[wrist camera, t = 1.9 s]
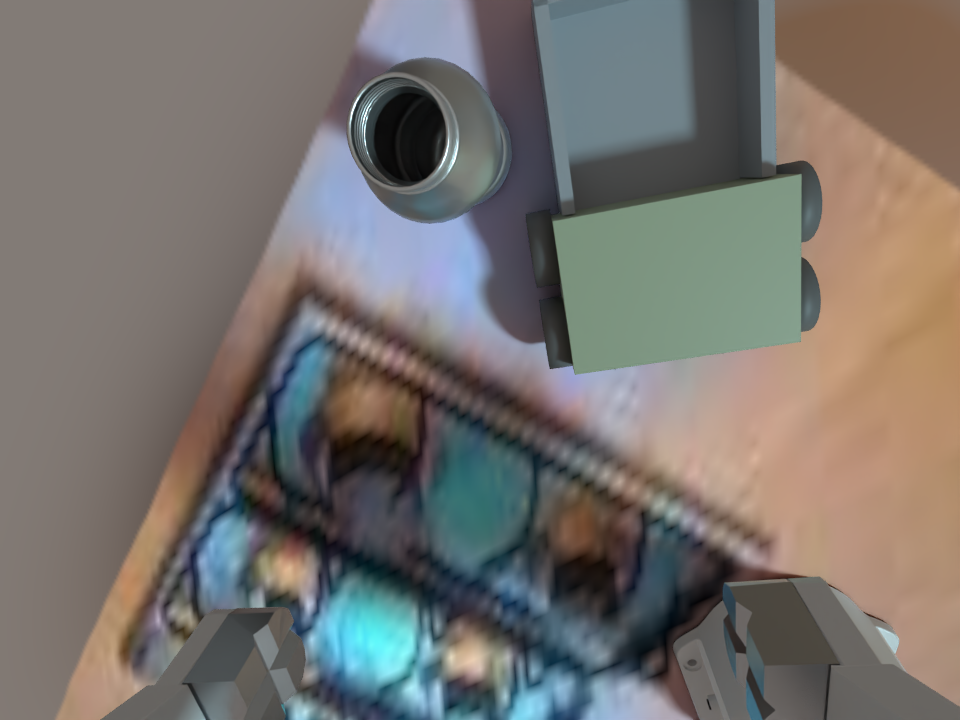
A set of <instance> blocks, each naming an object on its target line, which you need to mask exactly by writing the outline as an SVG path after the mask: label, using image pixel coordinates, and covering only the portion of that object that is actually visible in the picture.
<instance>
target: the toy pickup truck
mask: <svg viewBox="0 0 960 720" xmlns="http://www.w3.org/2000/svg"><path fill="white" fill-rule="evenodd" d="M531 15H532V22H533V29H534V36H535V44H536V51H537V58H538V65H539V72H540V79H541V86H542V94H543V101H544V108H545V115H546V122H547V129H548V137H549V144H550V151H551V158H552V165H553V172H554V179H555V187H556V194H557V201H558V208H559V214H554V215H551V214H550V209H549V210H543V211H538V212H533V213H528V214H526V223H527V230H528V237H529V243H530V250H531V256H532V262H533V268H534V274H535V280H536V285H537V288H539V287H545V286H550V285H556V284H560V289H561V296H560V297H554V298H549V299H543V300H539V302H540V310H541V317H542V324H543V331H544V337H545V343H546V350H547V356H548V361H549V367H550V369H554V368H560V367H567V366H573V369H574V373H575V375H576V374H583V373H590V372H596V371H603V370H610V369H617V368H624V367H631V366H638V365H644V364H651V363H658V362H665V361H672V360H679V359H686V358H693V357H699V356H706V355H713V354H720V353H727V352H734V351H741V350H748V349H754V348H761V347H768V346H775V345H782V344H789V343H796V342H801V332H803V331H809V330H811V329H812V328H813V327H814V326H815V324H816V323H817V320H818V317H819V313H820V304H821V299H820V289H819V284H818V280H817V277H816V274H815V272H814V270H813V268H812V266H811V265H810V264H809V262H808V261H807V260H806V259H804V258H802V257H801V242H806V241H809V240H810V239H811V238H812V237H813V236H814V234H815V233H816V231H817V229H818V226H819V223H820V219H821V213H822V192H821V186H820V182H819V179H818V176H817V174H816V172H815V170H814V168H813V167H812V166H811V165H810V164H809V163H808V162H806V161H796V162H791V163H786V164H781V165H776V91H775V0H532V8H531Z"/></svg>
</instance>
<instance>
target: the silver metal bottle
mask: <svg viewBox="0 0 960 720" xmlns="http://www.w3.org/2000/svg"><path fill="white" fill-rule="evenodd" d="M347 139H348V145H349V148H350V151H351V154H352V157H353V159H354V160H355V162H356V164H357V166H358V167H359V169H360V170H361V172H362V174H363V176H364V178H365V180H366V182H367V184H368V185H369V187H370V189H371V190H372V192H373V193H374V194H375V195H376V197H377V198H378V199H379V200H380V201H381V202H382V203H383V204H384V205H385V206H386V207H387V208H389V209H390V210H391V211H393V212H394V213H396V214H398V215H399V216H401V217H403V218H406V219H409V220H412V221H415V222H420V223H429V224H431V223H442V222H446V221H449V220H452V219H455V218H457V217H459V216H461V215H463V214H464V213H466V212H468V211H469V210H470V209H471V208H473V207H474V206H475V205H477V204H480V203H482V202H484V201H486V200H487V199H489V198H490V197H491V196H493V195H494V194H495V193H496V192H497V191H498V190H499V188H500V187H501V186H502V184H503V183H504V181H505V179H506V177H507V175H508V172H509V168H510V165H511V158H512V145H511V139H510V135H509V131H508V129H507V126H506V124H505V122H504V120H503V119H502V117H501V116H500V115H499V113H498V112H497V111H496V110H495V109H494V107H493V105H492V102H491V100H490V98H489V96H488V95H487V93H486V92H485V90H484V89H483V88H482V86H481V85H480V83H479V82H478V81H477V80H476V79H475V78H473V77H472V76H471V75H470V74H469V73H468V72H467V71H465V70H464V69H462V68H460V67H459V66H457V65H455V64H453V63H451V62H448V61H445V60H442V59H436V58H427V57H424V58H416V59H410V60H407V61H405V62H402V63H399V64H397V65H395V66H394V67H392V68H391V69H389V70H388V71H386V72H385V73H383V74H381V75H379V76H376V77H374V78H373V79H371V80H370V81H368V82H367V83H366V84H365V85H364V86H363V87H362V88H361V89H360V90H359V91H358V93H357V94H356V96H355V98H354V99H353V101H352V104H351V107H350V109H349V113H348V119H347Z"/></svg>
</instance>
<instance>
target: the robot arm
mask: <svg viewBox="0 0 960 720" xmlns="http://www.w3.org/2000/svg"><path fill="white" fill-rule="evenodd" d="M293 622H294V620H293V618H292V616H291V614H290V612H289V609H288V608H282V607H272V608H237V609H214V610H213V611H211V612H210V613H208V614H206V615H205V617H204V618H203V619H202V621H201V622H200V624H199V625H198V626H197V628H196V629H195V630H194V632H193V633H192V635H191V636H190V637H189V639H188V640H187V641H186V643H185V644H184V646H183V647H182V648H181V650H180V651H179V652H178V654H177V655H176V657H175V658H174V659H173V661H172V662H171V663H170V665H169V666H168V668H167V669H166V670H165V672H164V673H163V674H162V676H161V677H160V679H159V680H158V681H157V683H156V684H155V685H151V686H146V687H145V688H143V689H142V690H141V691H139V692H138V693H137V694H135V695H134V696H132V697H131V698H130V699H128V700H127V701H126V702H124V703H123V704H121V705H120V706H119V707H117V708H116V709H115V710H113V711H112V712H110V713H109V714H108V715H106V716H105V717H104V718H102V719H101V720H284V718H285V716H286V714H285V709H284V703H285V702H286V701H287V700H288V699H289V698H290V697H292V696H293V695H294V694H295V693H296V692H297V689H298V687H299V685H300V682H301V680H302V678H303V673H304V667H305V661H306V658H305V649H304V645H303V643H302V640H301V638H300V637H299V636H297V635H296V634H295V633H294V632H292V631H291V630H290V629H291V627H292V624H293ZM898 645H899V638H898V636H897V635H896V633H895V631H894V630H893V628H892V627H891V626H890V625H888V624H887V623H885V622H882V621H880V620H878V619H875V618H873V617H870V616H868V615H866V614H865V613H863V612H862V611H861V610H860V609H859V608H858V606H857V605H856V604H855V603H854V602H853V601H852V600H851V599H850V598H848V597H847V596H846V595H845V594H843V593H841V592H840V591H838V590H836V589H834V588H832V587H830V586H829V585H828V584H827V582H826V581H825V580H823V579H822V578H821V577H805V578H790V579H774V580H759V581H743V582H728V583H724V586H723V600H722V601H721V602H720V603H719V604H718V605H717V606H716V607H715V608H714V609H713V610H712V611H711V612H710V613H709V614H708V616H707V617H706V618H705V620H704V621H703V622H702V623H701V624H700V625H699V626H698V627H697V628H695V629H693V630H691V631H690V632H688V633H686V634H685V635H683V636H681V637H680V638H679V639H677V640H676V641H675V643H674V645H673V650H674V653H675V656H676V658H677V661H678V664H679V666H680V669H681V672H682V674H683V677H684V680H685V682H686V685H687V688H688V691H689V693H690V696H691V699H692V701H693V704H694V707H695V709H696V712H697V715H698V717H699V720H960V707H959V706H957V705H956V704H954V703H953V702H951V701H949V700H948V699H946V698H945V697H943V696H942V695H940V694H939V693H937V692H936V691H934V690H933V689H931V688H929V687H928V686H926V685H925V684H923V683H922V682H920V681H919V680H917V679H916V678H914V677H912V676H911V675H909V674H908V673H907V672H906V670H905V669H904V667H903V666H902V664H901V663H900V661H899V660H898V658H897V657H896V655H895V653H896V650H897V648H898Z"/></svg>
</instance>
